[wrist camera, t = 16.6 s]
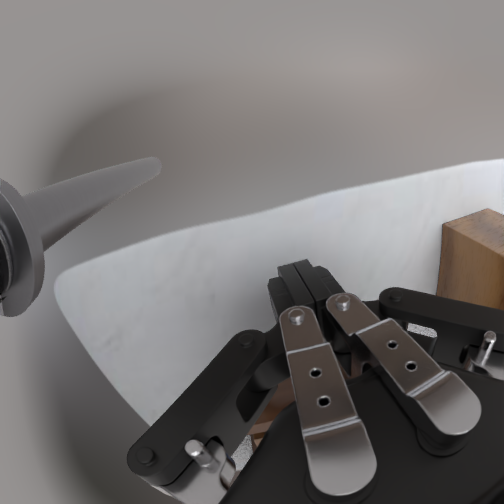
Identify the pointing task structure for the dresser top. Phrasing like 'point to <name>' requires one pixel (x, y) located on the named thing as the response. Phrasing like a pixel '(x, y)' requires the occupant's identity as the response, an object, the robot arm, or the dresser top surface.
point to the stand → (473, 259)
